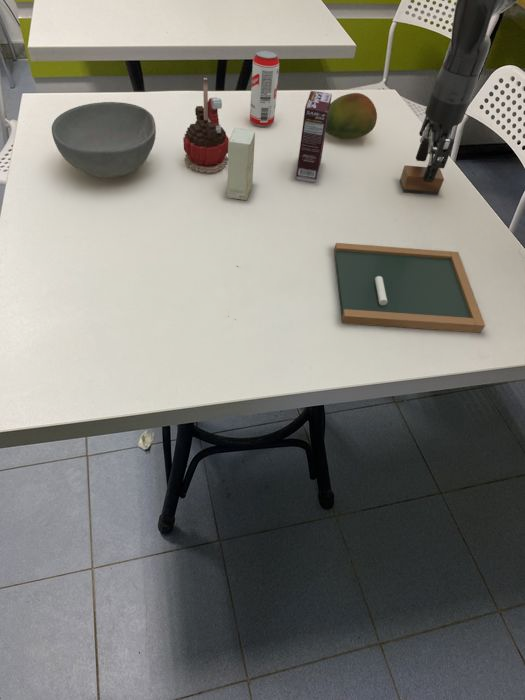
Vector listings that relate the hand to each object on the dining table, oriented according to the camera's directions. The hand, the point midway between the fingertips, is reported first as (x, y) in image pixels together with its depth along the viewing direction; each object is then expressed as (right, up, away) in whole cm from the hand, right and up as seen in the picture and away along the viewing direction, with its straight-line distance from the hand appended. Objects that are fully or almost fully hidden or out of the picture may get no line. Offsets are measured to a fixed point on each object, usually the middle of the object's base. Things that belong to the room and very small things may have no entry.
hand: (423, 170), depth 108 cm
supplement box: (-25, +1, +4) cm, 25 cm away
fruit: (-15, +14, +16) cm, 26 cm away
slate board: (-11, -28, -19) cm, 36 cm away
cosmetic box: (-40, -6, -3) cm, 41 cm away
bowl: (-68, 0, -1) cm, 68 cm away
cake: (-48, +3, +3) cm, 48 cm away
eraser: (0, -3, +3) cm, 4 cm away
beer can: (-36, +19, +18) cm, 44 cm away
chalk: (-15, -29, -22) cm, 40 cm away
